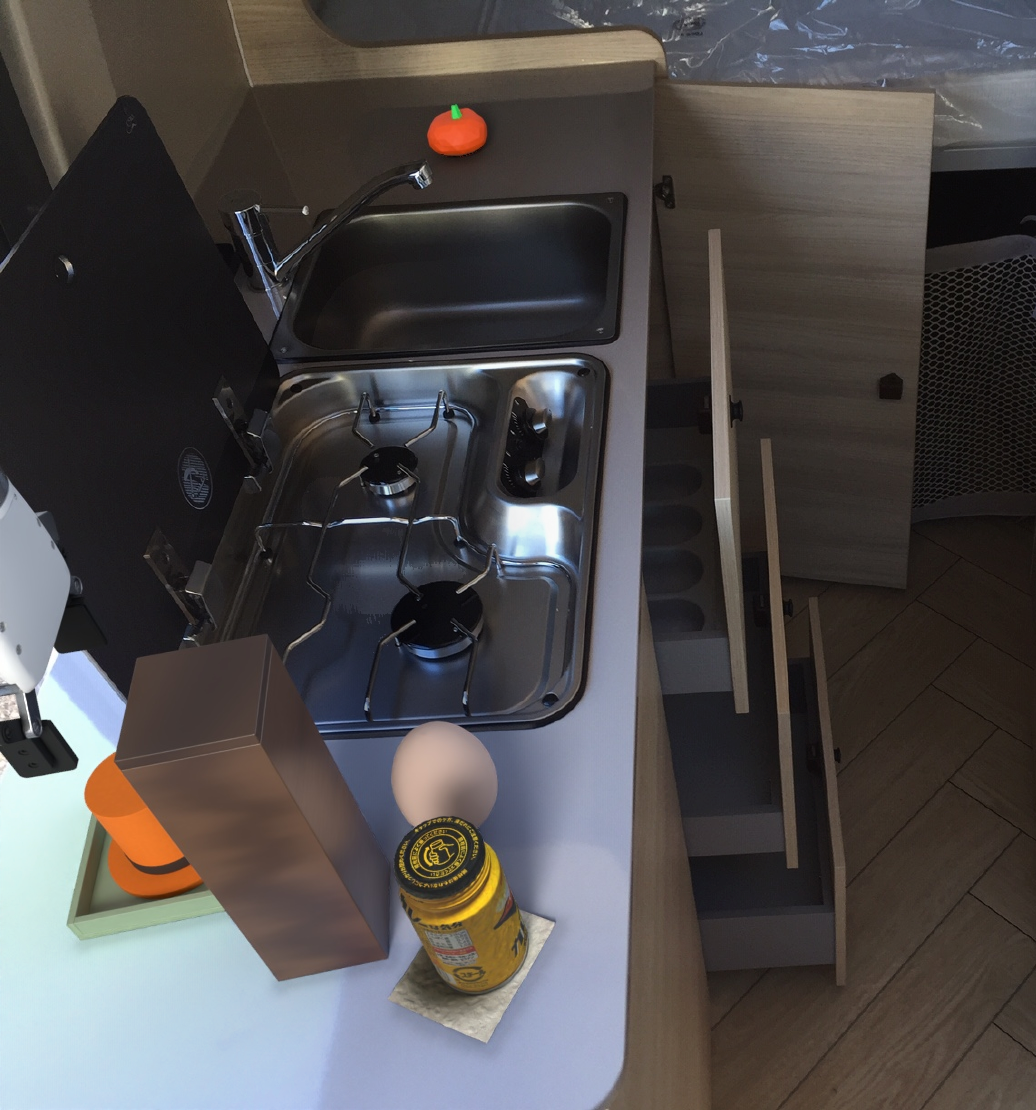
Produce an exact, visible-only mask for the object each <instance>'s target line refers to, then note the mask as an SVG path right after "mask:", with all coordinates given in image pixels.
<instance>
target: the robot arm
mask: <svg viewBox="0 0 1036 1110" xmlns="http://www.w3.org/2000/svg"><path fill="white" fill-rule="evenodd" d="M56 525H57V524H56V522H55V518H54V516H53V514H52V512H51V511H49V510H45V511H40V512H39V511H38V512H34V510H33V509H32V508H31V506H30V505H29V504H28V502H27V501H26V500H25V498H24V497H23V496H22V494H21V493H20V492H19V491H18V489H17V488H16V487H15V486H14V485H13V483H12V482H11V480H10V478H9V477H8V476H7V474H6V472H5V471H4V469H3V467H2V466H1V465H0V680H1V681H3V682H5V683H0V697H6V696H12V695H14V697H15V702H16V705H17V711H18V716H19V717H17V718H12V719H6V720H0V753H1V755H2V756H3V757H4V759H5V760H6V761H7V763H9V765H10V766H11V767H12V769H13V770H14V771H15V773H16V774H17V775H18V776H19V777H20V778H24V779H31V778H35V777H37V778H38V777H43V776H49V775H55V774H59V773H65V772H70V771H71V772H72V771H75V770H76V769H77V768H78V765H79V761H80V759H79V757H78V756H77V754H76V753H75V751H74V750H73V748H72V747H71V746H70V744H69V743H68V741H67V740H66V739H65V738H64V736H63V734H62V733H61V731H59V729H58V728H57V726H56V725H55V723H54V722H53V721H52V720H51V719H42V716H41V711H40V707H39V701H38V696H37V692H36V687H37V686H38V685H39V684H40V682H41V681H42V679H43V678H44V676H45V673H46V671H47V668H48V666H49V663H50V659H51V656H52V652H53V649H54V650H55V651H56V652H57V654H61V655H65V654H71V653H77V652H83V651H89V650H95V649H101V648H104V647H106V646H108V645H109V642H110V639H111V636H110V634H109V632H108V630H107V629H106V627H105V625H104V624H103V623H102V621H101V619H100V618H99V616H98V615H97V613H96V611H95V610H94V608H93V606H92V605H91V603H90V601H89V600H88V598H87V597H86V596H85V595H83V596H81V595H82V594H83V591H84V589H83V587H84V586H83V583H82V580H81V578H80V577H79V576H78V575H75V574H72V572H71V565H70V559H69V557H70V551H68V548H67V547H66V545H65V544H64V543H60V542H59V541H61V538H60V535H59V532H58V529H57V526H56Z"/></svg>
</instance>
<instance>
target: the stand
mask: <svg viewBox="0 0 1036 1110" xmlns="http://www.w3.org/2000/svg"><path fill="white" fill-rule="evenodd" d="M115 752H116V754H115V758H114V763H115V764H116V765H117V767H118V768H119V769H120V770H121V772H122V774H123V775H124V776H125V778H126V779H127V780H128V782H129V783H130V784H131V786H132V787H133V788H134V790H135V791H136V792H137V794H138V795H139V796H140V798H141V799H142V800H143V802H144V803H145V804H146V806H147V807H148V808H149V810H150V811H151V812H152V814H153V815H154V816H155V818H156V819H157V820H158V822H159V823H160V824H161V826H162V827H163V828H164V830H165V831H166V832H167V834H168V835H169V836H170V838H171V839H172V840H173V842H174V843H175V844H176V846H177V847H178V848H179V850H180V851H181V852H182V854H183V855H184V856H185V858H186V859H187V860H188V862H189V863H190V864H191V866H192V867H193V868H194V870H195V871H196V872H197V874H198V875H199V876H200V878H201V879H202V880H203V882H204V883H205V884H206V886H207V887H208V888H209V890H210V891H211V892H212V894H213V895H214V896H215V898H216V899H217V900H218V902H219V903H220V904H221V906H222V907H223V908H224V910H225V911H224V912H226V914H227V915H228V916H229V918H230V920H231V921H232V922H233V923H234V924H235V926H236V927H237V929H238V930H239V931H240V933H241V934H242V935H243V937H244V938H245V939H246V941H247V942H248V943H249V944H250V946H251V947H252V949H253V950H254V951H255V952H256V954H257V955H258V957H259V958H260V959H261V960H262V962H263V963H264V964H265V965H266V967H267V969H268V970H269V972H270V973H271V974H272V975H273V976H274V978H275V979H276V981H277V982H283V981H284V982H285V981H289V980H293V979H297V978H302V977H303V978H304V977H307V976H312V975H317V974H322V973H327V972H332V971H337V970H340V969H346V968H351V967H355V966H359V965H364V964H365V965H366V964H368V963H372V962H373V963H374V962H378V961H384V960H387V959H389V927H390V923H389V922H390V880H391V879H390V877H391V875H390V874H391V865H390V863H389V861H388V859H387V857H386V855H385V853H384V851H383V849H382V847H381V845H380V844H379V841H378V840H377V839H376V836H375V835H374V832H373V831H372V828H371V827H370V825H369V823H368V821H367V819H366V817H365V816H364V813H363V811H362V810H361V808H360V805H359V803H358V802H357V800H356V798H355V796H354V795H353V793H352V791H351V788H350V787H349V785H348V783H347V782H346V779H345V778H344V775H343V774H342V772H341V770H340V768H339V765H337V762H336V759H334V757H333V755H332V753H331V751H330V749H329V747H328V745H327V744H326V742H325V740H324V737H323V735H322V734H321V732H320V730H319V729H318V727H317V724H316V722H315V721H314V719H313V717H312V715H311V713H310V711H309V709H308V707H307V706H306V704H305V701H304V700H303V698H302V696H301V695H300V692H299V691H298V689H297V687H296V685H295V683H294V681H293V679H292V678H291V675H290V674H289V672H288V670H287V668H286V666H285V664H284V662H283V660H282V658H281V657H280V655H279V653H278V651H277V649H276V648H275V645H274V643H273V641H272V640H271V638H270V636H269V634H268V633H263V634H257V635H252V636H246V637H242V638H236V639H231V640H226V641H221V642H214V643H211V644H204V645H198V646H194V647H188V648H183V649H178V650H172V651H167V652H162V653H155V654H150V655H145V656H139V657H137V658H136V660H135V664H134V669H133V674H132V678H131V683H130V687H129V691H128V696H127V701H126V705H125V710H124V714H123V718H122V723H121V728H120V732H119V736H118V741H117V745H116V749H115Z"/></svg>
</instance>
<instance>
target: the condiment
mask: <svg viewBox="0 0 1036 1110" xmlns="http://www.w3.org/2000/svg"><path fill="white" fill-rule="evenodd" d="M392 867H393V870H394V872H393V874H394V875H393V876H394V878H395V881H396V883H397V884H398V886H399V887H398V896H399V900H400V903H401V907H402V908H403V910H404V913H405V914H406V916H407V918H408V920H409V921H410V922H409V923H411V925H412V927H413V929H414V931H415V932H416V935H417V936H418V938H419V940H420V942H421V944H422V946H421V948H420V949H419V950H418V952H417V953H416V956H415V957H414V959H413V960H412V962H411V963H410V965H409V967H408V968H407V970H406V971H405V972H404V974H403V976H402V977H401V978H400V980H399V981H398V983H396V985H395V987H394V988H393V991H392V992H391V994H389V997H388V998H387V1000H388V1001H389V1002H391V1003H394V1004H396V1005H398V1006H400V1007H402V1008H404V1009H407V1010H408V1011H411V1012H413V1013H415V1014H418V1015H420V1016H421V1017H424V1018H426V1019H429V1020H431V1021H433V1022H436V1023H438V1024H439V1025H440V1024H441V1025H443V1026H444V1027H446V1028H450V1029H452V1030H455V1031H457V1032H460V1033H461V1034H464V1035H466V1036H467V1037H468V1036H469V1037H471V1038H473V1039H476V1040H477V1041H481V1042H483V1043H485V1044H488V1042H489V1041H490V1038H491V1037H492V1035H493V1033H494V1031H495V1030H496V1028H497V1026H498V1025H499V1024H500V1021H501V1020H502V1017H503V1016H504V1013H506V1011H507V1009H508V1007H509V1006H510V1004H511V1002H512V1000H513V998H514V996H515V995H516V994H517V992H518V990H519V988H520V986H521V985H522V983H523V982H524V981H525V978H526V977H527V975H528V973H529V972H530V970H531V968H532V966H533V965H534V963H535V961H536V960H537V957H538V956H539V954H540V952H541V951H542V949H543V948H544V945H545V943H546V941H547V940H548V939H549V937H550V935H551V933H552V931H553V929H554V927H555V925H556V922H555V921H552V920H549V919H547V918H543V917H541V916H538V915H536V914H532V913H530V912H528V911H525V910H522V909H520V908H519V906H518V903H517V901H516V899H515V896H514V894H513V892H512V889H511V887H510V885H509V882H508V879H507V876H506V875H505V872H504V867H503V866H502V863H501V861H500V859H499V858H498V855H497V853H496V851H495V850H494V849H493V847H492V846H491V845H490V844H488V843H486V842H485V840H484V837H483V835H482V834H481V831H480V830H479V829H478V828H476V827H475V826H474V825H473V824H472V823H470V822H468V821H466V820H464V819H462V818H459V817H454V816H450V817H448V816H441V817H437V818H433V819H430V820H427V821H424V822H422V823H421V824H419V825H417V826H416V827H413V828H412V829H411V830H410V831H408V832H407V833H406V834H405V835H404V836H403V838H402V839H401V840H400V842H399V844H398V846H397V847H396V850H395V853H394V857H393V866H392Z"/></svg>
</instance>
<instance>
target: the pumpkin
mask: <svg viewBox="0 0 1036 1110" xmlns="http://www.w3.org/2000/svg"><path fill="white" fill-rule="evenodd" d="M426 136H427V140H428V144H429V148H431V149H432V150H433V151H434V152H435V153H437V154H439V155H441V154H444V155H463V154H467V153H470V152H473V151H475V150H477V149H479V148H480V147H482V146H483V147H484V145H485V144H486V142H487V138H488V126H487V123H486V121H485V120H484V118H483V117H482V116H481V115H479V114H478V113H477V112H475V111H474V110H473V109H470V108H469V107H464V108H459V106H458V105H457V103H456V104H455V105H454V104H453V105H451V106H450V110H448V111H447V110H446V111H445V112H443V113H440V114H438V115H437V116H435V117H434V118H433V120H432V122H431V123H430V125H429V128H428V130H427V133H426ZM483 147H482V148H483ZM480 149H481V148H480ZM480 149H479V150H480ZM472 154H474V153H472ZM472 154H469V155H466V156H465V157H467V156H470V155H472ZM444 155H443V156H444ZM459 158H462V157H461V156H460V157H459Z"/></svg>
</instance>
